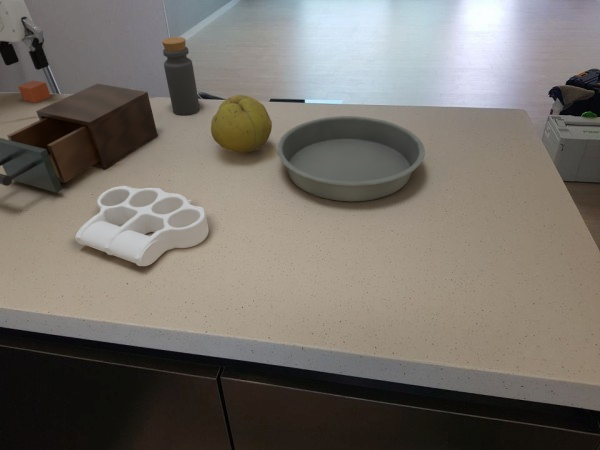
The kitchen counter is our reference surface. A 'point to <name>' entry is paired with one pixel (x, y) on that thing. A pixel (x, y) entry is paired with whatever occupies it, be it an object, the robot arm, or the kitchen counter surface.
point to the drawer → (47, 153)
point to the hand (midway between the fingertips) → (27, 65)
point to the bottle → (180, 77)
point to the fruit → (241, 124)
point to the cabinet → (108, 119)
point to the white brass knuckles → (143, 224)
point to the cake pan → (350, 157)
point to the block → (34, 91)
